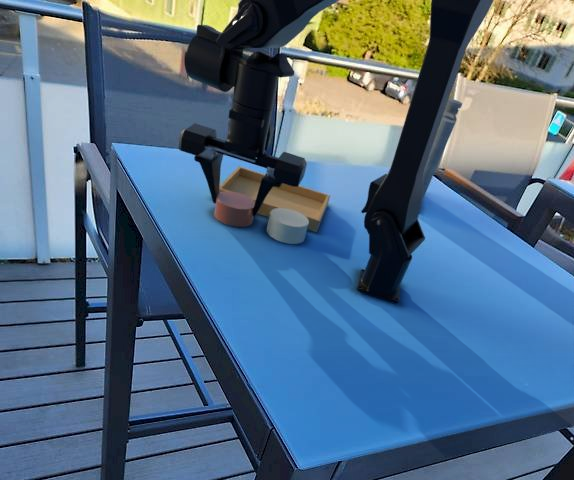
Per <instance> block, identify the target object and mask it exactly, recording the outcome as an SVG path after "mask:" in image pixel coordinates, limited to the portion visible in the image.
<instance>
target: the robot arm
mask: <svg viewBox="0 0 574 480" xmlns="http://www.w3.org/2000/svg"><path fill="white" fill-rule="evenodd" d="M339 1H340V0H239V2H238V3H237V12H236V14H234V16H233V18H232V19H231V20H230V21H229V23H228V24H227V25H226V27H224V29H223V30H222V32H221V31H220V30H219V31H218V30H217V29H216V28H214V27H213V26H210V25H208V24H198V25H196V33H195V35H194V36H192V38H191V40H190V41H189V43H188V45H187V48H186V51H185V52H184V57H183V60H184V61H183V62H184V63H183V64H184V69H185V73H186V74H187V76H188V77H189V78H190V79H192V80H194V81H196V82H198V83H201V84H203V85H206V86H208V87H211V88H212V89H213V88H214V89H216V90H218V91H221V92H223V93H228V92H229V91H231V90H232V89H233V93H232V101H231V108H230V109H229V111H228V123H227V136H226V139H225V140H224V139H221V138H219V137H217V136H218V135H217V130H216V129H214V128H211V127H208V126H205V125H201V124H199V123H192V124H191V125H190V126H188V127H187V128H185V129H183V130H182V131H181V132H180V135H179V137H178V149H179V151H180V152H184V153H185V154H190V155H193V156H194V159H193V160H194V162H196V163H199V165H200V167H201V170H202V172H203V175H204V177H205V179H206V183H207V186H208V190H209V193H210V197H211V200H212V203H213V204H215V203H216V196H217V194H218V193H219V187H220V185H221V171H222V170H221V167H222V162H223V160H224V159H223V158H224V156H226V157H230V158H232V159H236V160H238V161H243V162H245V163H248V164H251V165H255V166H257V167H261V168H264V169H266V171H265V172H266V173H264V174H265V176H264V177H263V178H262V180H261V183H260V187H259V191H258V194H257V198H256V201H255V205H254V209H253V216H254V217H256V216H257V215H258V214H257V212H258V211H259V209H260V207H261V205H262V203H263V202H264V200H265V198H266V196H267V195H268V193H269V191H270V190H271V189H272V187H273V186H275V187H281V185H282V184H283V183H284V184H287V185H290V186H293V187H298V186H300V184H301V182H302V181H303V179H304V177H305V174H306V169H307V164H308V162H307V159H306V158H305V157H303V156H298V155H296V154H292V153H290V152H287V151H283V152H282V153H281V154H280V155H279V157H277V156H275V155H271V154H269V153H265V151H269V149H270V147H271V144H272V139H273V136H274V130H275V126H274V125H273V124H272V122H271V120H272V114H273V106H274V102H275V96H276V91H277V86H278V81H279V78H289V77H294V75H295V70H294V69H293V66H292V65H291V63H290V61H289V60H288V58H287V57H288V56H287V54H286V53H276V54H275V55H273V56H272V55H270V54H267V53H264V52H261V51H254V52H253V53H251V54H250V55H249V54H246V53H244V50H260V49H279V48H283V47H285V46H287V44H289V43H290V42H292V41H293V40H294V39H295V38H296V37H297V36H298V35H299V34H301V32H303V31H304V30H305V28H306V27H307V25H308V24H309V23H310V22H311V21H312V19H313V18H315V17H316V16H317V15H318V14H319V13H321V12H322V11H324V10H325V9H327V8H329V7H330V6H332V5H334V4H335V3H337V2H339ZM494 1H495V0H431V2H430V17H429V19H430V20H429V21H430V22H429V38H428V44H427V47H426V50H425V53H424V57H423V60H422V64H421V67H420V69H419V73H418V76H417V80H416V83H415V87H414V89H413V92H412V96H411V99H410V102H409V106H408V109H407V113H406V116H405V119H404V123H403V127H402V130H401V133H400V136H399V139H398V141H397V142H398V143H397V146H396V149H395V152H394V156H393V159H392V162H391V165H390V168H389V170H388V172H387V173H384V174H383V175H381V176H380V177H378V178H375V179H374V180H372V181H371V182H370V183H369V185H368V190H367V191H368V192H367V200H366V203H365V205H364V207H363V208H362V209H361V210H360V212H361V214H365V215H364V218H363V226H364V229H365V230H366V233H367V234H368V253H369V255H370V256H369V258H368V262H367V263H366V266H365V268H364V269H363V268H361V269H360V270H359V274H358V279H357V284H356V291H357V292H360V293H363V294H365V295H369V296H372V297H375V298H378V299H381V300H385V301H387V302H391V303H394V304H399V302H400V299H401V298H400V296H401V284H402V282H403V280H404V278H405V275H406V273H407V270H408V268H409V266H410V264H411V261H412V259H413V255H412V254H413V253H414V252H415V251H416V250H417V249H418V248H419V247H420V246H421V244H422V243H424V241H425V240H426V236H425V234H424V231H423V229H422V226H421V223H420V221H419V215H420V210H421V205H422V203H421V199H422V191H423V173H424V169H425V166H426V163H427V160H428V157H429V154H430V151H431V149H432V146H433V143H434V140H435V137H436V134H437V131H438V128H439V125H440V123H441V120H442V117H443V114H444V111H445V108H446V105H447V102H448V100H449V98H451V97H450V96H451V93H452V91H453V88H454V86H455V85H454V84H455V82H456V79H457V76H458V73H459V71H460V67H461V64H462V62H463V59H464V56H465V52H466V50H467V49H468V47H469V45H470V43H471V41H472V40H473V37H474V36H475V34H476V33H477V31H478V29H479V28H480V26H481V25H482V24H483V21H484V20H485V18H486V16H487V14H488V12H489V10H490V8H491V6H492V4H493V3H494ZM420 204H421V205H420Z"/></svg>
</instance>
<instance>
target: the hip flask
mask: <svg viewBox="0 0 574 480" xmlns="http://www.w3.org/2000/svg"><path fill="white" fill-rule="evenodd" d="M462 107H463V103H462V102H461V101H459V100H457V99H455V98H451V97H449V100H448V102H447V105H446V108H445V111H444V114H443V117H442V120H441V123H440V125H439V128H438V131H437V134H436V137H435V140H434V143H433V146H432V149H431V151H430V154H429V157H428V160H427V163H426V166H425V169H424V173H423V191H422V199H421V204H420V206H421V205H422V203H423V200H424V198H425V196H426V193H427V191H428V189H429V186H430V184H431V182H432V179H433V177H434V175H435V172H436V170H437V169H438V165H439V163H440V161H441V158H442V155H443V153H444V151H445V150H446V149H445V148H446V146H447V144H448V142H449V140H450V137H451V135H452V132H453V130H454V128H455V126H456V123H457V115H458V113H459V109H462Z"/></svg>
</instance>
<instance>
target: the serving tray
mask: <svg viewBox="0 0 574 480" xmlns="http://www.w3.org/2000/svg"><path fill="white" fill-rule="evenodd" d="M265 174H266V173H261V172H258V171H256V170H252V169H250V168H246V167H244V166H237V167H236V168H235V169H234V171H232V173H230V174H229V175H228V176H227V177H226V179H224V181H223V182H222V183H220V187H219V193H220V192H226V191H230V192H237V193H241V194H244V195H246V196H249V197H250V198H252V199H253V200H254V201H256V198H257V194H258V191H259V187H260V183H261V180H262V178H263V177H264V176H265ZM330 198H331V195H330V194H327V193H325V192H322V191H318V190H315V189H312V188H309V187H305V186H302V185H299V186H298V187H293V186H290V185H287V184H284V183H283V184H282V185H281V187H275V186H273V187H272V189H271V190H270V191H269V193H268V195H267V196H266V198H265V200H264V202H263V203H262V205H261V207H260V209H259V211H258V212H257V214H256V215H260V216H263V217H267V218H269V216H270V212H271V211H272V210H273V209H277V208H285V209H291V210H294V211H297V212H299V213H301V214H303V215H304V216H305V217H307V219H308V220H309V224H308V228H307V231H310V232H314V233H317V232H318V229H319V227H320V225H321V223H322V220H323V217H324V215H325V212H326V210H327V208H328V205H329V201H330Z"/></svg>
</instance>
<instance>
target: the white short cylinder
mask: <svg viewBox="0 0 574 480" xmlns="http://www.w3.org/2000/svg"><path fill="white" fill-rule="evenodd" d="M308 224H309V220H308V219H307V217H305V216H304V215H303V214H301V213H299V212H297V211H294V210H291V209H285V208H277V209H273V210H272V211H271V212H270V216H269V217H268V221H267V226H266V233H267V235H268V236H269V237H270V238H272V239H274V240H275V241H278V242H280V243H284V244H288V245H299V244H302V243H303V242H304V241H305V239H306V235H307V231H308V230H307V228H308Z"/></svg>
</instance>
